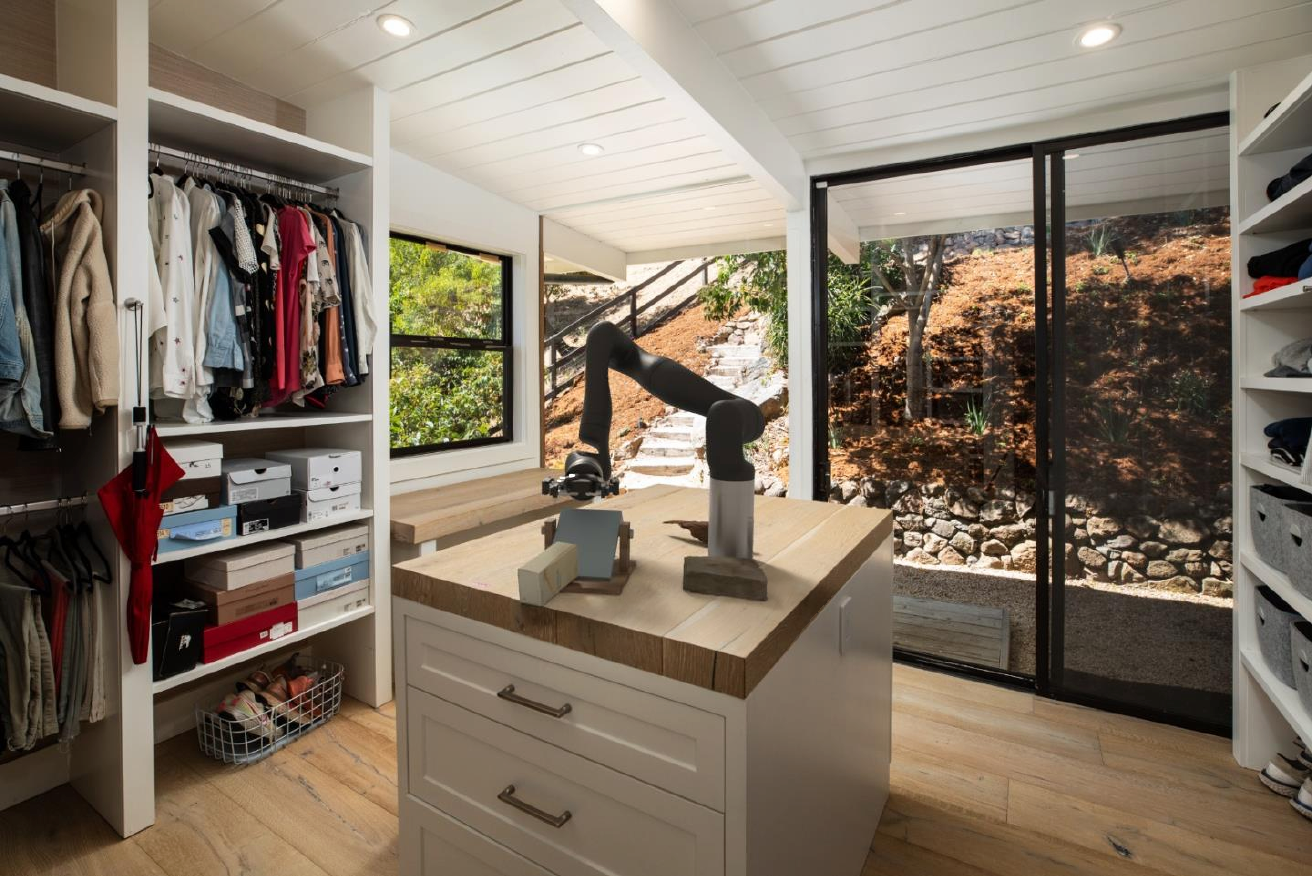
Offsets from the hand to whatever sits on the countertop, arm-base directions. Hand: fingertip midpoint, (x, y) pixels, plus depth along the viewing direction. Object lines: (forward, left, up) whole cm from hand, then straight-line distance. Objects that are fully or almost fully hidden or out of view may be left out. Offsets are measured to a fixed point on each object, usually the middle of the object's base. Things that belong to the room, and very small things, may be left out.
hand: (579, 492), depth 120 cm
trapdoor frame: (0, -6, -17) cm, 18 cm away
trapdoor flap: (0, -9, -14) cm, 16 cm away
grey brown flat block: (-26, -5, -18) cm, 32 cm away
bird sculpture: (-21, -37, -17) cm, 46 cm away
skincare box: (+2, 0, -12) cm, 12 cm away
